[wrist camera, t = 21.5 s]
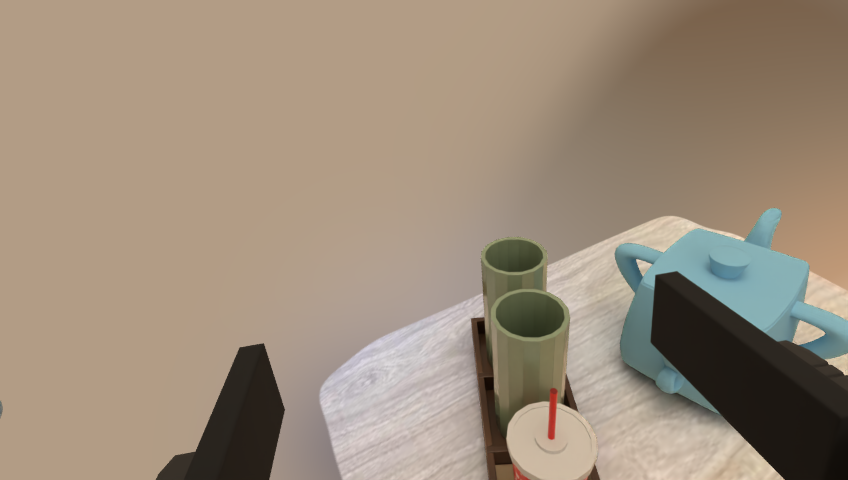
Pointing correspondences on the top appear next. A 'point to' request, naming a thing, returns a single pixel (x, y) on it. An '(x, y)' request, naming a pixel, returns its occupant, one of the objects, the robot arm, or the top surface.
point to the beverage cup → (551, 442)
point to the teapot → (724, 295)
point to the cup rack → (494, 441)
